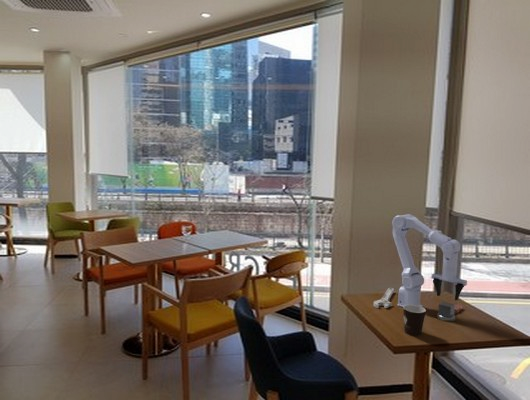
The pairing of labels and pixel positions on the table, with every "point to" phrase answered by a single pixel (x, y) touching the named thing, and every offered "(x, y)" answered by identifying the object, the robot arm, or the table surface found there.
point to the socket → (446, 309)
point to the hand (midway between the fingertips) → (447, 297)
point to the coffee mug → (413, 319)
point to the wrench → (384, 299)
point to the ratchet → (456, 310)
